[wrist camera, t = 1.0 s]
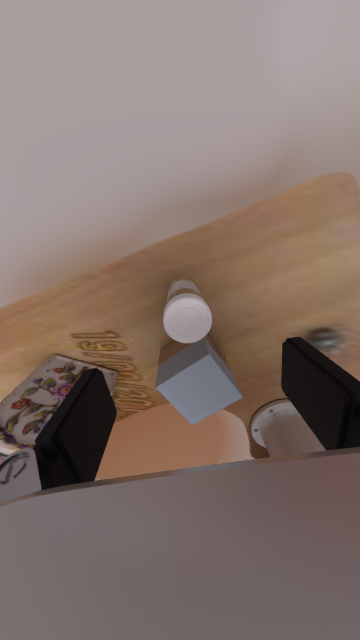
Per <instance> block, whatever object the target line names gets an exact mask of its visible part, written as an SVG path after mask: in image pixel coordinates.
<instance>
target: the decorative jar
mask: <svg viewBox="0 0 360 640" xmlns="http://www.w3.org/2000/svg"><path fill="white" fill-rule="evenodd" d="M92 368H98V369H99V370H102V372H103V374H104V377H105V380H106V383H107V385H108V388H109V391H110V394H111V396H112V394H113V391H114V388H115V384H116V381H117V378H118V372H117V371H114V370H110V369H107V368H103V367H100V366H96V365H93V364H89V363H86V362H82V361H78V360H74V359H71V358H67V357H64V356H60V355H53V356H52V357H50V358H49V359H48V360H47V361H46V362H44V363H43V364H42V365H41V366H40V367H38V368H37V369H36V370H35V371H34V372H33V373H32V374H31V375H30V376H29V377H27V378H26V379H25V380H24V381H23V382H22V383H21V384H20V385H19V386H18V387H16V388H15V389H14V390H13V391H12V392H11V393H10V394H9V395H7V396H6V397H5V398H4V399H3V400H2V401H1V402H0V461H1V460H2V459H4V458H5V457H7V456H8V455H10V454H11V453H13V452H15V451H17V450H20V449H23V448H31V449H33V447H34V446H35V444H36V443H35V441H34V440H35V439H36V438H37V436H38V435H39V433H40V432H41V431H42V429H43V428H44V426H45V425H46V424H47V422H48V421H49V419H50V418H51V417H52V415H53V414H54V412H55V411H56V410H57V408H58V407H59V405H60V404H61V403H62V401H63V400H64V398H65V397H66V395H67V394H68V393H69V391H70V390H71V388H72V387H73V386H74V384H75V383H76V381H77V380H78V379H79V377H80V376H81V374H82V373H83V372H84V370H86V369H92Z"/></svg>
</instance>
